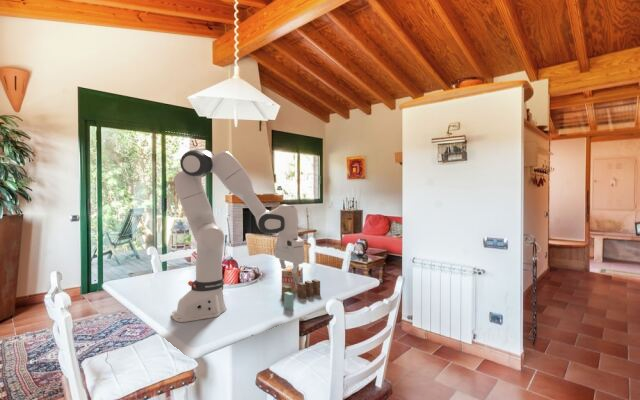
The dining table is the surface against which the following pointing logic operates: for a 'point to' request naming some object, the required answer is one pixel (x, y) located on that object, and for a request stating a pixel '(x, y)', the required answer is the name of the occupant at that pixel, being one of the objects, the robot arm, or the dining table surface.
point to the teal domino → (288, 301)
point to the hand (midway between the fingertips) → (288, 270)
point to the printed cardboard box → (292, 277)
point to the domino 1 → (285, 290)
